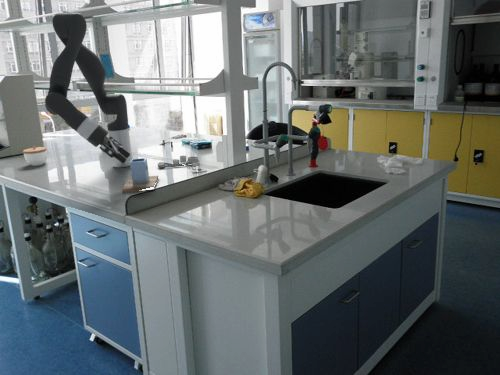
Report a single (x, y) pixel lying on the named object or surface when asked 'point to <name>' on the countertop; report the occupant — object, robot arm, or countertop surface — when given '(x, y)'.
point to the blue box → (139, 171)
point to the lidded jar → (35, 155)
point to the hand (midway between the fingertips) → (127, 158)
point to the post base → (138, 185)
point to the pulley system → (190, 160)
